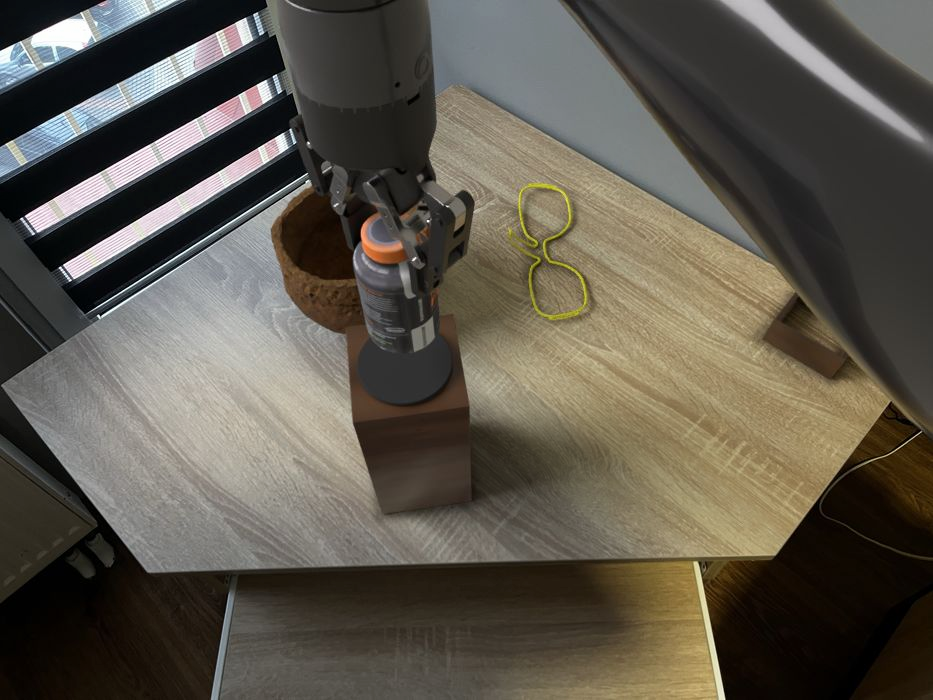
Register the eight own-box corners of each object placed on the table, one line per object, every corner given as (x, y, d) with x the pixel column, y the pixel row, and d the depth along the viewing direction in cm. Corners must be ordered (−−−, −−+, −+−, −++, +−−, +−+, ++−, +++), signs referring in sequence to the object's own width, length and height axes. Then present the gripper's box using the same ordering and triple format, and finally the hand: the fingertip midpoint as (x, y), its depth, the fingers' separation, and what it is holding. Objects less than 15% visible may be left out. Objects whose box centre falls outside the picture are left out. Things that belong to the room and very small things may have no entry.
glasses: (591, 322, 91) (596, 300, 87) (515, 327, 91) (517, 304, 87) (565, 187, 105) (568, 162, 101) (499, 190, 104) (500, 166, 100)
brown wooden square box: (861, 333, 89) (876, 314, 86) (829, 379, 86) (844, 362, 82) (795, 296, 93) (807, 277, 89) (761, 339, 89) (772, 321, 86)
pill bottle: (451, 342, 56) (445, 247, 46) (380, 366, 55) (360, 273, 45) (426, 288, 59) (415, 188, 50) (358, 309, 58) (335, 211, 48)
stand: (471, 501, 78) (469, 406, 59) (382, 514, 77) (352, 422, 59) (458, 422, 83) (453, 312, 65) (375, 434, 82) (345, 326, 64)
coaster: (459, 399, 60) (458, 395, 59) (361, 413, 59) (360, 409, 59) (445, 320, 64) (445, 316, 64) (354, 332, 64) (353, 329, 63)
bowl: (318, 243, 99) (295, 162, 87) (448, 258, 97) (444, 177, 85) (278, 353, 89) (245, 279, 76) (422, 371, 87) (413, 299, 75)
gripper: (219, 38, 38) (289, 247, 52) (410, 155, 32) (431, 353, 46) (322, -20, 41) (362, 193, 55) (512, 78, 35) (503, 286, 49)
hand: (394, 265), depth 51 cm, fingers closed on pill bottle, 6 cm apart
